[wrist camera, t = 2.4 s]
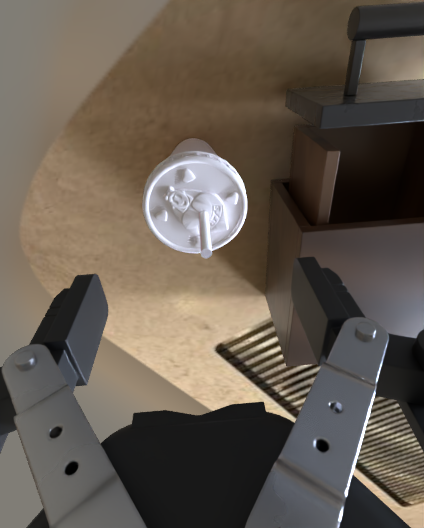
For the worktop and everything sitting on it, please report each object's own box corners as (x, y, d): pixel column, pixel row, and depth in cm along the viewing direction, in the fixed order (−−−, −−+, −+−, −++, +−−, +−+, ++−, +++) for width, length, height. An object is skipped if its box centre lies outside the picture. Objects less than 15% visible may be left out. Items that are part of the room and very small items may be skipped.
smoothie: (204, 209, 29) (213, 314, 18) (141, 171, 27) (106, 265, 16) (246, 150, 27) (289, 230, 15) (180, 102, 24) (173, 155, 13)
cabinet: (270, 179, 28) (302, 232, 20) (410, 169, 28) (495, 217, 20) (265, 296, 36) (286, 366, 28) (375, 287, 36) (426, 354, 28)
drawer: (291, 16, 21) (335, 3, 15) (461, 3, 21) (579, -14, 15) (276, 236, 31) (299, 287, 24) (393, 226, 31) (447, 274, 24)
